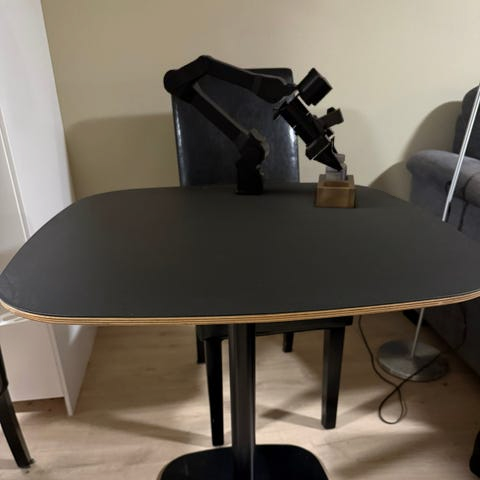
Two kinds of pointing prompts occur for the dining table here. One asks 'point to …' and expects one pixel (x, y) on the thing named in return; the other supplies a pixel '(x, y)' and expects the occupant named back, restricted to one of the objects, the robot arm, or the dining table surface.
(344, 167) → the pill bottle
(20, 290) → the dining table surface
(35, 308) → the dining table surface
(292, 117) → the robot arm
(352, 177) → the holder
